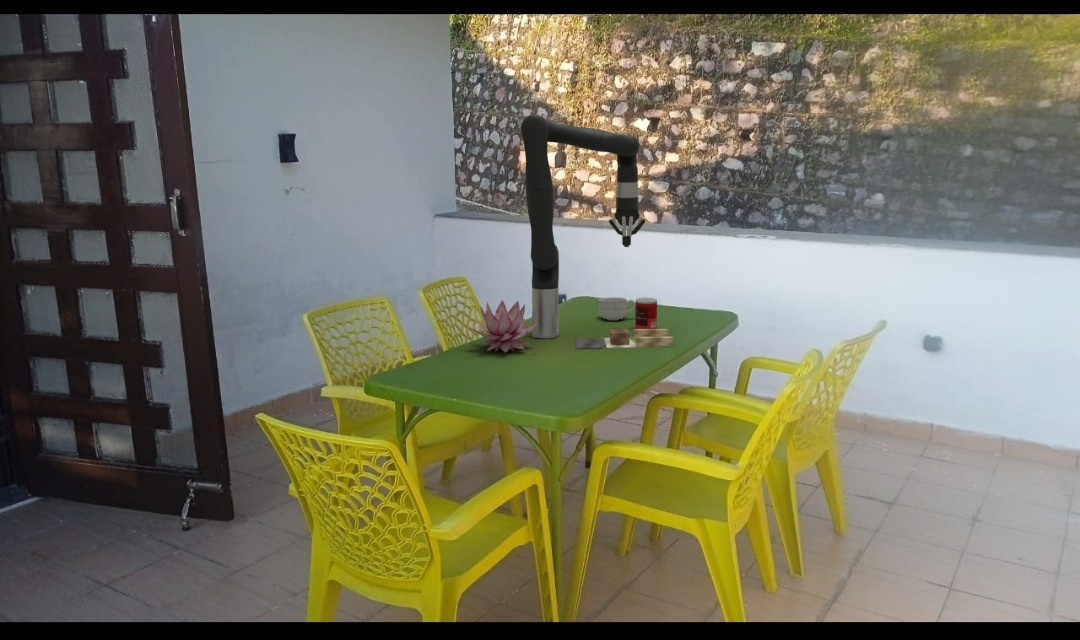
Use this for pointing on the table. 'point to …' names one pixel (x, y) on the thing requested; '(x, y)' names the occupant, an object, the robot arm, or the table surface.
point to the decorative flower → (504, 327)
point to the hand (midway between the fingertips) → (626, 246)
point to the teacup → (614, 307)
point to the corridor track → (642, 335)
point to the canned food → (646, 313)
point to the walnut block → (619, 336)
